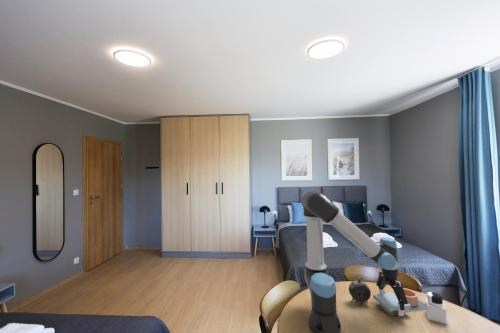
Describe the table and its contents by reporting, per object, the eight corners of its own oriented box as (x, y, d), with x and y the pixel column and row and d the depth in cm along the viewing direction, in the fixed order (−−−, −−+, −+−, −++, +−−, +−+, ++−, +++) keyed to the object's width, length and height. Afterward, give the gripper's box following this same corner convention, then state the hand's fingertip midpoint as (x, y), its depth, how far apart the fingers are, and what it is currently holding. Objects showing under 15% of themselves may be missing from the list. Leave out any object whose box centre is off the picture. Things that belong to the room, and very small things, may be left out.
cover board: (389, 311, 110) (389, 307, 110) (373, 297, 122) (373, 294, 122) (410, 308, 112) (410, 305, 112) (392, 295, 124) (392, 292, 124)
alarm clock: (368, 300, 126) (367, 272, 127) (372, 306, 121) (371, 276, 122) (348, 300, 128) (347, 272, 128) (352, 305, 122) (350, 276, 123)
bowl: (406, 308, 118) (406, 298, 118) (392, 298, 128) (392, 288, 128) (422, 306, 119) (421, 296, 120) (407, 296, 129) (407, 287, 129)
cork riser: (390, 316, 112) (390, 308, 112) (379, 307, 120) (379, 299, 120) (404, 314, 113) (404, 306, 113) (392, 305, 121) (392, 298, 121)
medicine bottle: (443, 316, 111) (441, 292, 112) (447, 324, 105) (445, 299, 106) (425, 312, 115) (424, 289, 115) (428, 320, 109) (426, 295, 109)
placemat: (406, 313, 115) (406, 312, 115) (384, 296, 130) (383, 295, 130) (433, 309, 117) (433, 309, 117) (407, 293, 132) (407, 293, 132)
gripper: (415, 277, 106) (417, 322, 105) (379, 258, 130) (381, 295, 129) (401, 278, 105) (403, 324, 104) (368, 259, 129) (370, 296, 128)
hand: (391, 308), depth 117 cm, fingers closed on cover board, 12 cm apart
